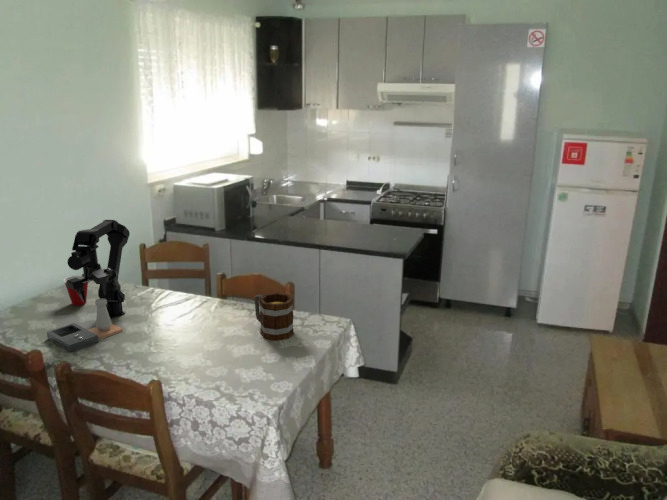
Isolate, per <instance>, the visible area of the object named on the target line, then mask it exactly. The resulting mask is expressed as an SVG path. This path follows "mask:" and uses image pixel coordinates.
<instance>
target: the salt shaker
mask: <svg viewBox="0 0 667 500" xmlns="http://www.w3.org/2000/svg"><path fill="white" fill-rule="evenodd" d="M94 304H95V306H96V317H95V318H96V319H95V327H97V328H98V330H99V331H102V332H104V331H108V330H109V329H110V327H111V323H112V319H111V318H110V317H109V314H108V311H107V307H106V304H107V300H106V299H104V298H97V299H96V300H95V301H94Z"/></svg>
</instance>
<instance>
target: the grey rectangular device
mask: <svg viewBox="0 0 667 500" xmlns="http://www.w3.org/2000/svg"><path fill="white" fill-rule="evenodd" d="M46 339H47V340H48V341H50V342H52V343H53V344H55V345H57V346H58V347H60V348H62V349H63V350H66V351H67V352H68V353H72V352H76V351H79V350H81V349H83V348H84V349H85V348H86V347H89V346H92V345H95V344H98V343H99V339H98V335H96V334H94V333H92V332H91V331H89V330H88V329H86V328H85V327H83V326H81V325H78V324H77V323H76V322H73V323H70V324H67V325H64V326H61V327H58V328H55V329H51V330H48V331H46Z"/></svg>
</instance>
